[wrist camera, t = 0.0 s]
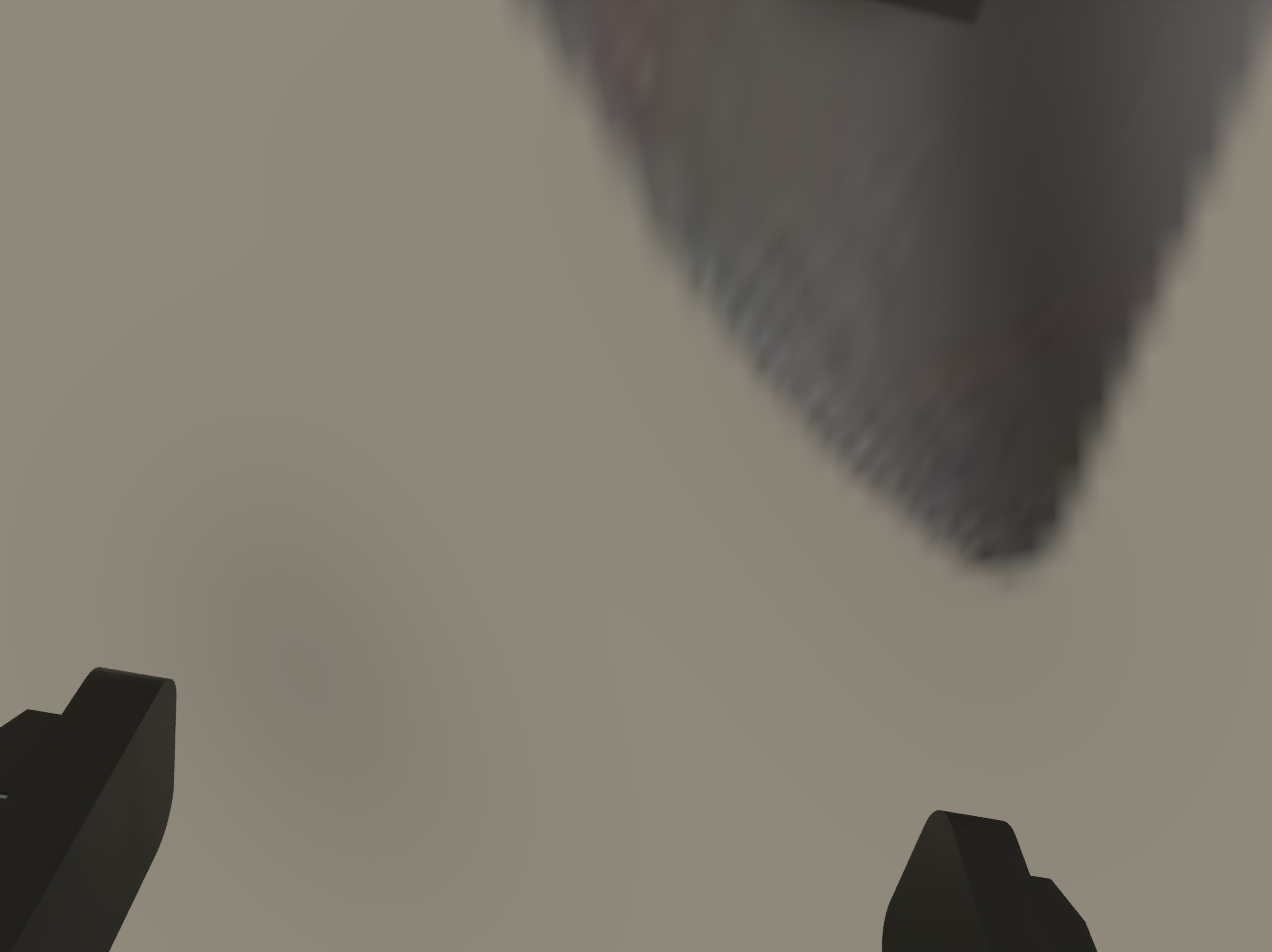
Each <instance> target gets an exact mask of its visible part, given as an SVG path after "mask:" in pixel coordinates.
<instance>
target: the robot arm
mask: <svg viewBox="0 0 1272 952" xmlns="http://www.w3.org/2000/svg"><path fill="white" fill-rule="evenodd" d="M175 726H176V686H175V682H174V681H173V680H172V679H168V678H161V677H155V676H149V675H144V674H137V673H132V672H126V671H120V670H114V669H108V668H102V667H97V668H95V669H94V670H92V671H91V672H90V674H89V675H88V676H87V677H86V679H85V680H84V682H83V683H82V685H81V686H80V688H79V689H78V691H77V692H76V694H75V695H74V697H73V698H72V700H71V701H70V703H69V704H68V706H67V707H66V709H65V710H64V712H63V713H62V715H60V714H53V713H47V712H41V711H35V710H28V709H27V710H26V711H24V712H23V713H21V714H20V715H18V716H17V717H15V718H14V719H12V720H11V721H9V722H8V723H6V724H5V725H3V726H2V727H0V952H109V951H110V949H111V947H112V944H113V942H114V940H115V938H116V936H117V934H118V932H119V930H120V928H121V926H122V924H123V922H124V920H125V918H126V915H127V913H128V911H129V909H130V907H131V905H132V903H133V901H134V899H135V897H136V894H137V893H138V891H139V888H140V886H141V884H142V882H143V880H144V878H145V876H146V874H147V872H148V870H149V868H150V866H151V863H152V861H153V859H154V857H155V855H156V853H157V851H158V848H159V846H160V843H161V841H162V838H163V835H164V832H165V829H166V826H167V822H168V818H169V814H170V809H171V804H172V798H173V790H174V762H175V761H174V760H175ZM882 952H1097V950H1096V947H1095V945H1094V942H1093V940H1092V938H1091V935H1090V932H1089V930H1088V928H1087V925H1086V923H1085V921H1084V920H1083V918H1082V917H1081V916H1080V915H1079V914H1078V912H1077V911H1076V910H1075V909H1074V907H1073V906H1072V905H1071V904H1070V902H1069V901H1068V900H1067V899H1066V897H1065V896H1064V895H1063V894H1062V892H1061V891H1060V890H1059V889H1058V887H1057V886H1056V885H1055V884H1054V882H1053V881H1052V880H1051V879H1048V878H1042V877H1036V876H1030V874H1029V871H1028V868H1027V865H1026V863H1025V860H1024V857H1023V854H1022V852H1021V849H1020V846H1019V844H1018V841H1017V838H1016V836H1015V833H1014V831H1013V829H1012V828H1011V826H1010V825H1009V824H1008V823H1007V822H1005V821H1000V820H995V819H988V818H983V817H977V816H971V815H965V814H959V813H953V812H947V811H941V810H937V811H935V812H933V813H932V814H931V815H930V817H929V818H928V820H927V821H926V824H925V826H924V828H923V830H922V832H921V834H920V837H919V839H918V841H917V843H916V845H915V848H914V850H913V852H912V854H911V856H910V859H909V861H908V863H907V866H906V868H905V870H904V872H903V874H902V877H901V879H900V881H899V883H898V885H897V887H896V890H895V892H894V894H893V896H892V898H891V901H890V903H889V906H888V909H887V912H886V916H885V921H884V927H883V936H882Z"/></svg>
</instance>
